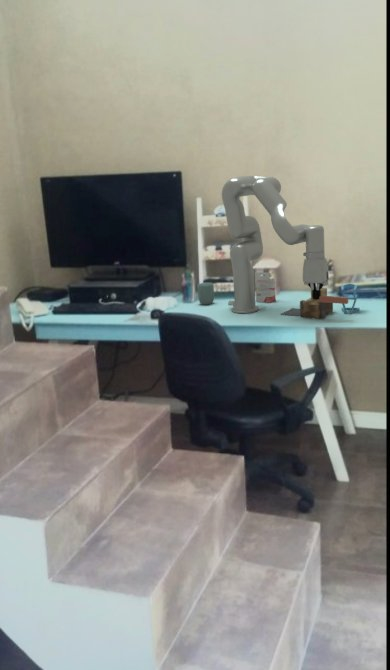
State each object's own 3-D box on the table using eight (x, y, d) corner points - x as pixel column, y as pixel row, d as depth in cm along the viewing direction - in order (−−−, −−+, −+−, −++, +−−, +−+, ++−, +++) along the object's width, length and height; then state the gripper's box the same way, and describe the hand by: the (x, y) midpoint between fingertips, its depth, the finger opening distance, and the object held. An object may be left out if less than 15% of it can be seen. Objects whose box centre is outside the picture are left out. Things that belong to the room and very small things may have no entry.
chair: (339, 314, 277) (338, 286, 274) (341, 309, 284) (341, 282, 281) (357, 314, 274) (357, 286, 271) (359, 309, 282) (359, 282, 279)
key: (319, 302, 270) (319, 296, 269) (321, 301, 271) (321, 295, 270) (346, 303, 263) (346, 298, 262) (348, 302, 264) (348, 297, 264)
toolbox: (300, 317, 276) (299, 301, 274) (313, 310, 287) (313, 295, 285) (322, 319, 270) (322, 303, 268) (335, 311, 281) (335, 296, 279)
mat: (280, 314, 283) (280, 313, 283) (292, 308, 293) (292, 308, 292) (301, 316, 277) (301, 315, 277) (312, 310, 287) (312, 309, 287)
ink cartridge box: (276, 300, 312) (274, 270, 308) (271, 303, 308) (270, 272, 304) (260, 299, 316) (259, 270, 313) (255, 302, 313) (254, 272, 309)
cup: (217, 302, 317) (216, 282, 315) (209, 306, 311) (207, 285, 309) (204, 301, 322) (202, 282, 319) (195, 305, 315) (194, 285, 313)
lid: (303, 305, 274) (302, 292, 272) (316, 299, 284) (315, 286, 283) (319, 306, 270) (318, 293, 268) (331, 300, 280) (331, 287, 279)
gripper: (294, 256, 268) (296, 299, 272) (328, 257, 259) (329, 301, 264) (302, 254, 273) (304, 296, 278) (335, 254, 265) (336, 297, 270)
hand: (316, 298), depth 271 cm, fingers closed
